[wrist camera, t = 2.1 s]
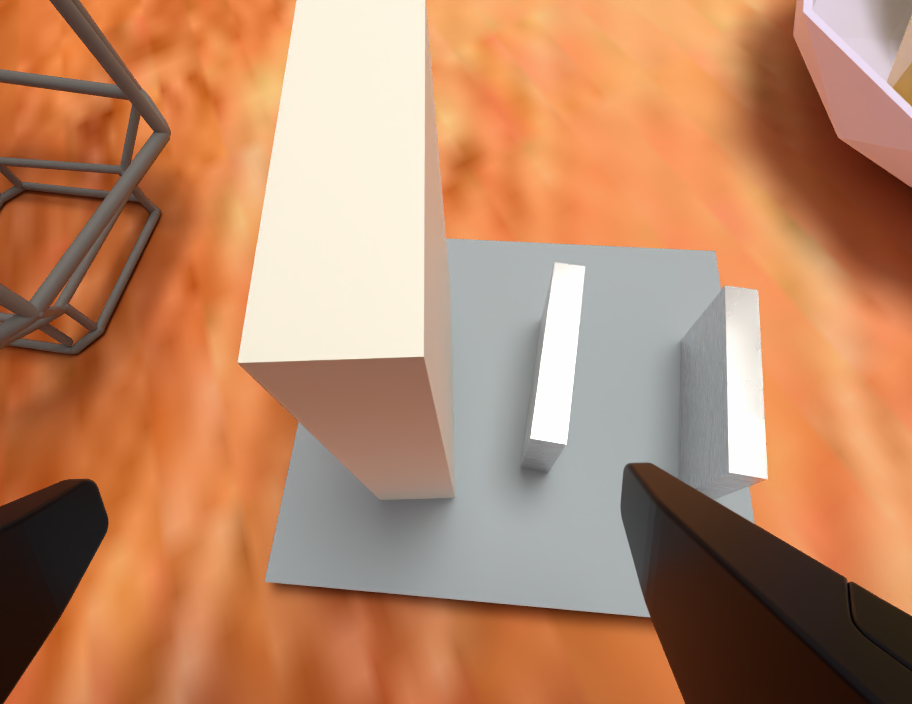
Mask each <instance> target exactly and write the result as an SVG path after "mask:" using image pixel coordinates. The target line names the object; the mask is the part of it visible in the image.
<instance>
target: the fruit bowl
mask: <svg viewBox="0 0 912 704" xmlns="http://www.w3.org/2000/svg"><path fill="white" fill-rule="evenodd" d="M793 36H794V39H795V41H796V43H797V46H798V48H799V50H800V52H801V55H802V57H803V59H804V61H805V64H806V66H807V68H808V71H809V73H810V75H811V77H812V80H813V82H814V84H815V86H816V89H817V91H818V93H819V96H820V98H821V100H822V102H823V105H824V107H825V109H826V111H827V114H828V116H829V118H830V121H831V123H832V125H833V127H834V130H835V132H836V134H837V136H838V138H839V139H841V140H842V141H844V142H845V143H847V144H848V145H850V146H851V147H852V148H854V149H855V150H857V151H858V152H860V153H861V154H863V155H864V156H866V157H867V158H869V159H870V160H872V161H873V162H875V163H876V164H877V165H879V166H880V167H882V168H883V169H885V170H886V171H888V172H889V173H891V174H892V175H894V176H895V177H897V178H898V179H900V180H901V181H902V182H904V183H905V184H907V185H908V186H910V187H911V188H912V0H797V2H796V12H795V21H794V31H793Z"/></svg>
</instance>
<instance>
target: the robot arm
mask: <svg viewBox="0 0 912 704" xmlns="http://www.w3.org/2000/svg"><path fill="white" fill-rule="evenodd" d="M620 510H621V517H622V521H623V525H624V529H625V532H626V536H627V540H628V543H629V547H630V551H631V554H632V558H633V561H634V565H635V569H636V572H637V576H638V580H639V583H640V587H641V590H642V594H643V597H644V601H645V604H646V606H647V609H648V612H649V614H650V617H651V620H652V622H653V625H654V627H655V630H656V632H657V635H658V637H659V640H660V642H661V645H662V647H663V650H664V652H665V655H666V657H667V659H668V662H669V664H670V667H671V669H672V672H673V674H674V677H675V679H676V682H677V684H678V687H679V689H680V692H681V694H682V697H683V699H684V702H685V704H912V616H911V615H909V614H907V613H905V612H904V611H902V610H900V609H898V608H897V607H895V606H893V605H891V604H890V603H888V602H886V601H884V600H883V599H881V598H879V597H878V596H876V595H874V594H873V593H871V592H869V591H868V590H866V589H864V588H862V587H861V586H859V585H857V584H856V583H854V582H849V583H848V582H847V579H846V578H845V577H844V576H842V575H840V574H839V573H837V572H835V571H833V570H832V569H830V568H828V567H827V566H825V565H823V564H822V563H820V562H818V561H817V560H815V559H813V558H811V557H810V556H808V555H806V554H805V553H803V552H801V551H800V550H798V549H796V548H795V547H793V546H791V545H789V544H788V543H786V542H784V541H783V540H781V539H779V538H778V537H776V536H774V535H773V534H771V533H769V532H767V531H766V530H764V529H762V528H761V527H759V526H757V525H756V524H754V523H752V522H751V521H749V520H747V519H745V518H744V517H742V516H740V515H739V514H737V513H735V512H734V511H732V510H730V509H729V508H727V507H725V506H723V505H722V504H720V503H718V502H717V501H715V500H713V499H712V498H710V497H708V496H707V495H705V494H703V493H701V492H700V491H698V490H696V489H695V488H693V487H691V486H690V485H688V484H686V483H685V482H683V481H681V480H680V479H678V478H676V477H674V476H673V475H671V474H669V473H668V472H666V471H664V470H663V469H661V468H659V467H658V466H656V465H654V464H652V463H649V462H640V463H627V464H626V465H625V467H624V470H623V479H622V491H621V503H620ZM107 529H108V516H107V513H106V510H105V507H104V504H103V501H102V498H101V495H100V492H99V489H98V487H97V484H96V483H95V482H94V481H92V480H90V479H68V480H64V481H61V482H58V483H56V484H54V485H51V486H49V487H46V488H44V489H42V490H39V491H37V492H34V493H32V494H30V495H27V496H25V497H22V498H20V499H18V500H15V501H13V502H10V503H8V504H5V505H3V506H1V507H0V704H4V702H5V701H6V699H7V698H8V696H9V695H10V693H11V692H12V690H13V689H14V687H15V686H16V684H17V683H18V681H19V680H20V678H21V676H22V675H23V673H24V672H25V670H26V669H27V667H28V666H29V664H30V663H31V661H32V660H33V658H34V657H35V655H36V654H37V652H38V651H39V649H40V648H41V646H42V645H43V643H44V642H45V640H46V639H47V637H48V636H49V634H50V633H51V631H52V630H53V628H54V626H55V625H56V623H57V622H58V620H59V618H60V617H61V615H62V613H63V612H64V610H65V608H66V606H67V605H68V603H69V601H70V599H71V597H72V596H73V594H74V592H75V590H76V588H77V586H78V584H79V583H80V581H81V579H82V577H83V575H84V573H85V572H86V570H87V568H88V566H89V564H90V562H91V560H92V559H93V557H94V555H95V553H96V551H97V549H98V548H99V546H100V544H101V542H102V540H103V538H104V536H105V534H106V532H107Z"/></svg>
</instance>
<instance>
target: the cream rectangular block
mask: <svg viewBox="0 0 912 704" xmlns="http://www.w3.org/2000/svg"><path fill="white" fill-rule="evenodd" d="M238 364H239V365H240V366H241V367H242V368H243V369H244V370H246V371H247V372H248V373H249V374H250V375H251V376H252V377H253V378H254V379H255V380H256V381H257V382H258V383H259V384H260V385H261V386H262V387H263V388H264V389H265V390H266V391H267V392H268V393H269V394H270V395H271V396H273V397H274V398H275V399H276V400H277V401H278V402H279V403H280V404H281V405H282V406H283V407H284V408H285V409H286V410H287V411H288V412H289V413H290V414H291V415H292V416H293V417H294V418H295V419H296V420H297V421H299V422H300V423H301V424H302V425H303V426H304V427H305V428H306V429H307V430H308V431H309V432H310V433H311V434H312V435H313V436H314V437H315V438H316V439H317V440H318V441H319V442H320V443H321V444H322V445H323V446H324V447H326V448H327V449H328V450H329V451H330V452H331V453H332V454H333V455H334V456H335V457H336V458H337V459H338V460H339V461H340V462H341V463H342V464H343V465H344V466H345V467H346V468H347V469H348V470H349V471H350V472H351V473H353V474H354V475H355V476H356V477H357V478H358V479H359V480H360V481H361V482H362V483H363V484H364V485H365V486H366V487H367V488H368V489H369V490H370V491H371V492H372V493H373V494H374V495H375V496H376V497H377V498H378V499H380V500H398V499H433V498H455V469H454V421H453V372H452V324H451V292H450V280H449V268H448V256H447V245H446V233H445V221H444V209H443V197H442V186H441V174H440V162H439V150H438V138H437V127H436V115H435V103H434V91H433V79H432V68H431V56H430V44H429V32H428V20H427V9H426V0H297V2H296V8H295V15H294V21H293V27H292V33H291V39H290V45H289V51H288V57H287V64H286V70H285V76H284V82H283V88H282V94H281V100H280V107H279V113H278V119H277V125H276V131H275V137H274V143H273V149H272V156H271V162H270V168H269V174H268V180H267V186H266V192H265V198H264V205H263V211H262V217H261V223H260V229H259V235H258V241H257V248H256V254H255V260H254V266H253V272H252V278H251V284H250V290H249V297H248V303H247V309H246V315H245V321H244V327H243V333H242V339H241V346H240V352H239V358H238Z"/></svg>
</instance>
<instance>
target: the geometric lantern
mask: <svg viewBox="0 0 912 704" xmlns="http://www.w3.org/2000/svg"><path fill="white" fill-rule="evenodd" d="M50 1H51V3H52V4H53V5H54V6H55V8H56V9H57V10H58V11H59V13H60V14H61V15H62V16H63V18H64V19H65V20H66V22H67V23H68V24H69V25H70V27H71V28H72V29H73V30H74V32H75V33H76V34H77V35H78V37H79V38H80V39H81V40H82V42H83V43H84V44H85V45H86V47H87V48H88V49H89V50H90V52H91V53H92V54H93V55H94V57H95V58H96V59H97V60H98V62H99V63H100V64H101V65H102V67H103V68H104V69H105V71H106V72H107V73H108V74H109V76H110V77H111V78H112V79H113V81H114V82H115V83H116V84H117V85H114V84H107V83H99V82H92V81H84V80H77V79H69V78H62V77H54V76H47V75H39V74H32V73H24V72H17V71H9V70H2V69H0V82H2V83H9V84H16V85H23V86H31V87H38V88H45V89H52V90H59V91H67V92H74V93H81V94H88V95H96V96H103V97H110V98H117V99H125V100H129V101H130V102H131V103H132V109H131V114H130V119H129V124H128V129H127V134H126V139H125V144H124V150H123V155H122V160H121V165H120V166H118V165H104V164H90V163H76V162H62V161H48V160H34V159H20V158H7V157H0V172H1V173H2V174H3V175H4V176H5V177H6V178H7V179H8V180H9V181H10V182H11V183H12V184H13V185H14V187H12V188H10V189H9V190H7V191H5V192H3V193H2V194H1V193H0V208H1V206H2V205H3V203H4V202H6V201H8V200H9V199H11V198H13V197H14V196H16V195H18V194H20V193H21V192H23V191H25V190H33V191H42V192H51V193H60V194H69V195H78V196H87V197H96V198H105V199H104V201H103V202H102V203H101V205H100V206H99V207H98V209H97V210H96V211H95V213H94V214H93V216H92V217H91V218H90V220H89V221H88V222H87V224H86V225H85V226H84V228H83V229H82V231H81V232H80V233H79V235H78V236H77V237H76V239H75V240H74V241H73V243H72V244H71V246H70V247H69V248H68V250H67V251H66V252H65V254H64V255H63V256H62V258H61V259H60V261H59V262H58V263H57V265H56V266H55V267H54V269H53V270H52V271H51V273H50V274H49V276H48V277H47V278H46V280H45V281H44V282H43V284H42V285H41V286H40V288H39V289H38V291H37V292H36V293H35V295H34V296H33V297H32V299H31V300H30V301H27V300H25V299H24V298H22V297H21V296H19V295H17V294H16V293H14V292H13V291H11V290H10V289H8V288H7V287H5V286H3V285H2V284H0V305H1V306H3V307H5V308H7V309H8V310H10V311H12V312H13V313H15V314H8V313H1V312H0V322H2V323H0V349H1V348H3V347H5V346H7V345H10V346H17V347H24V348H31V349H38V350H45V351H51V352H58V353H65V354H78V353H79V352H81V351H82V350H83V349H84V348H85V347H87V346H88V345H89V344H90V343H92V342H93V341H94V340H95V339H97V338H98V337H99V336H100V335H101V334H103V333H104V331H105V330H104V329H105V327H106V325H107V323H108V321H109V319H110V317H111V315H112V313H113V311H114V308H115V306H116V304H117V302H118V300H119V298H120V296H121V294H122V292H123V290H124V288H125V286H126V284H127V282H128V280H129V278H130V276H131V274H132V272H133V270H134V267H135V265H136V263H137V261H138V259H139V257H140V255H141V253H142V251H143V249H144V247H145V245H146V243H147V241H148V239H149V237H150V235H151V233H152V231H153V229H154V226H155V224H156V222H157V220H158V218H159V216H160V214H161V211H160V210H159V209H158V208H157V207H156V206H155V205H154V204H153V203H152V202H151V201H150V200H149V199H148V198H147V197H146V196H145V195H144V193H143V192H142V191H141V189H140V188H139V187H138V184H139V183H140V181H141V180H142V178H143V177H144V175H145V174H146V173H147V171H148V170H149V168H150V167H151V165H152V164H153V163H154V161H155V160H156V158H157V157H158V155H159V154H160V153H161V151H162V150H163V148H164V147H165V145H166V144H167V143H168V141H169V140H170V135H171V131H170V128H169V126H168V124H167V122H166V120H165V119H164V117H163V116H162V114H161V113H160V111H159V110H158V108H157V107H156V105H155V104H154V102H153V101H152V99H151V98H150V96H149V95H148V94H147V93H146V92H145V91H144V90H143V89H142V88H141V86H140V85H139V84H138V82H137V81H136V79H135V78H134V77H133V75H132V74H131V72H130V71H129V70H128V68H127V67H126V65H125V64H124V63H123V61H122V60H121V58H120V57H119V56H118V54H117V53H116V51H115V50H114V49H113V47H112V46H111V44H110V43H109V41H108V40H107V39H106V37H105V36H104V34H103V33H102V32H101V30H100V29H99V27H98V26H97V25H96V23H95V22H94V20H93V19H92V18H91V16H90V15H89V13H88V12H87V10H86V9H85V8H84V6H83V5H82V3H81V2H80V1H79V0H50ZM140 115H141V116H142V117H143V118H144V120H145V121H146V122H147V123H148V125H149V126H150V127H151V128H152V130H153V131H154V132H153V134H152V135H151V136H150V138H149V139H148V141H147V142H146V143H145V145H144V146H143V147H142V149H141V150H140V151H139V153H138V154H137V156H136V157H135V158H134V160H133V161H132V162H131V159H132V154H133V149H134V145H135V140H136V135H137V130H138V125H139V120H140ZM6 166H17V167H30V168H44V169H57V170H71V171H84V172H98V173H111V174H119V175H120V176H121V177H120V179H119V180H118V181H117V183H116V184H115V186H114V187H113V188H112V190H111V191H103V190H94V189H85V188H75V187H66V186H57V185H48V184H39V183H30V182H21V181H20V180H19V179H18V178H17V177H16V176H15V175H14V174H13V173H12V172H11V171H10V170H9V169H8V168H7V167H6ZM127 201H133V202H140V203H141V204H142V205H143V206H144V207H145V208H146V209H147V210H148V211H149V212H150V213H151V214H150V216H149V218H148V220H147V222H146V224H145V226H144V228H143V230H142V232H141V234H140V236H139V238H138V240H137V242H136V244H135V247H134V249H133V251H132V253H131V255H130V257H129V259H128V261H127V263H126V265H125V267H124V269H123V271H122V273H121V275H120V277H119V279H118V281H117V283H116V285H115V287H114V289H113V291H112V293H111V295H110V297H109V299H108V301H107V303H106V305H105V307H104V309H103V311H102V313H101V315H100V317H99V319H98V321H97V323H94V322H93V321H91V320H90V319H89V318H87V317H86V316H85V315H83V314H82V313H81V312H79V311H78V310H77V309H75V308H74V307H73V306H71V305H70V304H68V303H69V302H70V300H71V298H72V296H73V295H74V293H75V291H76V290H77V288H78V286H79V284H80V283H81V281H82V279H83V277H84V276H85V274H86V272H87V270H88V269H89V267H90V265H91V263H92V262H93V260H94V258H95V256H96V255H97V253H98V251H99V250H100V248H101V246H102V244H103V243H104V241H105V239H106V237H107V236H108V234H109V232H110V230H111V229H112V227H113V225H114V223H115V222H116V220H117V218H118V216H119V215H120V213H121V211H122V209H123V208H124V206H125V204H126V203H127ZM70 277H71V278H70ZM69 278H70V279H69ZM68 280H69V281H68ZM67 281H68V283H67ZM66 283H67V285H66V286H65V288H64V290H63V291H62V293H61V295H60V296H59V298H58V300H57V302H56V303H55V305H54V306H52V307H50V305H51V304H52V302H53V301H54V299H55V298H56V297H57V295H58V294H59V292H60V291H61V290H62V288H63V287H64V285H65V284H66ZM64 313H66V314H67V315H69V316H70V317H71V318H73V319H74V320H76V321H77V322H78V323H80V324H81V325H83V326H84V327H85V328H87V329H88V330H90V332H89V333H88V334H87V335H85V336H84V337H83V338H82V339H80V340H79V341H78V342H77V343H75V344H74V345H73V346H70V345H72V344H73V340H72V339H71V338H70V337H69V336H67V335H66V334H64V333H62V332H61V331H59V330H58V329H56V328H55V327H53V326H52V325H50V324H49V323H50V322H51V321H53V320H54V319H56V318H58V317H59V316H61V315H63V314H64ZM37 329H40V330H41V331H43V332H44V333H46V334H48V335H49V336H51V337H52V338H54V339H56V340H57V341H59V342H60V343H62V344H56V343H49V342H42V341H35V340H28V339H21V338H22V337H24V336H26V335H28V334H30V333H32V332H34V331H36V330H37ZM63 344H64V345H63Z"/></svg>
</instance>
